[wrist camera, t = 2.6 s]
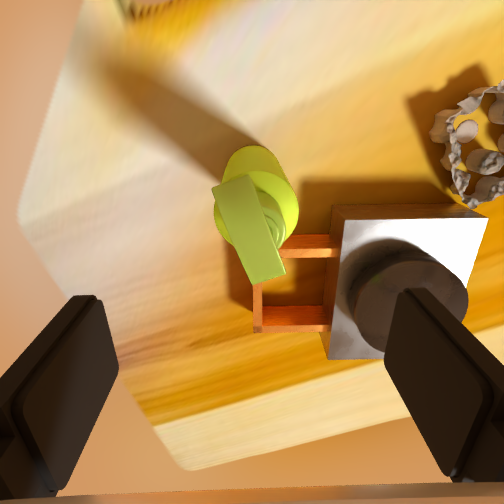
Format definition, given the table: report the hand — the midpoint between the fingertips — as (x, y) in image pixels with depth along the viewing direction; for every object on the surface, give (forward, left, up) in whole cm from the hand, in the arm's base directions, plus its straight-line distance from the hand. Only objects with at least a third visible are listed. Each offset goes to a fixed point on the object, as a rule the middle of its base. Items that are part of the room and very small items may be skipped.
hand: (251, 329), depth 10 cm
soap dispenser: (0, 0, -26) cm, 26 cm away
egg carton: (-2, +23, -26) cm, 35 cm away
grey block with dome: (+13, +12, -26) cm, 31 cm away
